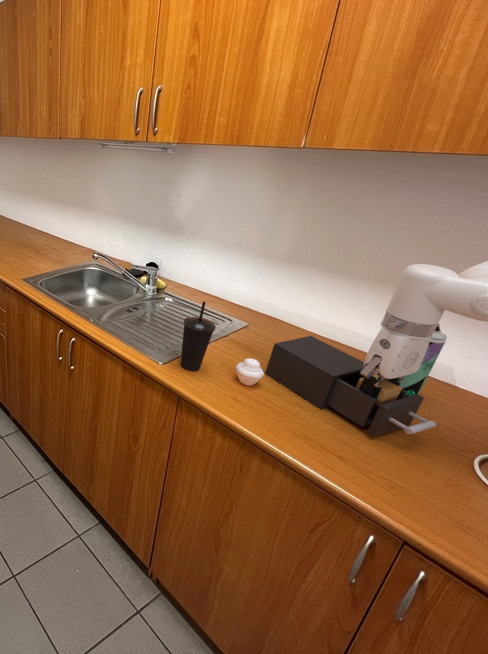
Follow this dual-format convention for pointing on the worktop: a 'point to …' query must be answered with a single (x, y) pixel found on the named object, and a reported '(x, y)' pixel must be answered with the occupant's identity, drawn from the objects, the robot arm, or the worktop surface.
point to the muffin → (249, 371)
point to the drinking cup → (195, 340)
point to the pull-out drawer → (376, 408)
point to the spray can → (424, 365)
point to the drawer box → (310, 367)
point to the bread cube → (385, 391)
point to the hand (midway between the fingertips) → (375, 394)
